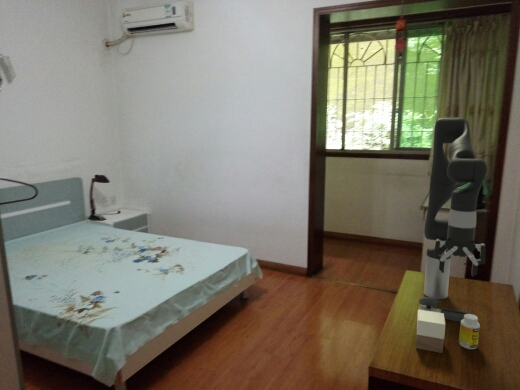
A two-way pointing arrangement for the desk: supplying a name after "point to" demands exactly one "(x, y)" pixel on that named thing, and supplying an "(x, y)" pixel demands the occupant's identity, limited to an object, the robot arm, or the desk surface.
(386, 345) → the desk surface
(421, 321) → the tower top
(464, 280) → the desk surface
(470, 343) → the supplement bottle
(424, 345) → the tower base
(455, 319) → the can opener
